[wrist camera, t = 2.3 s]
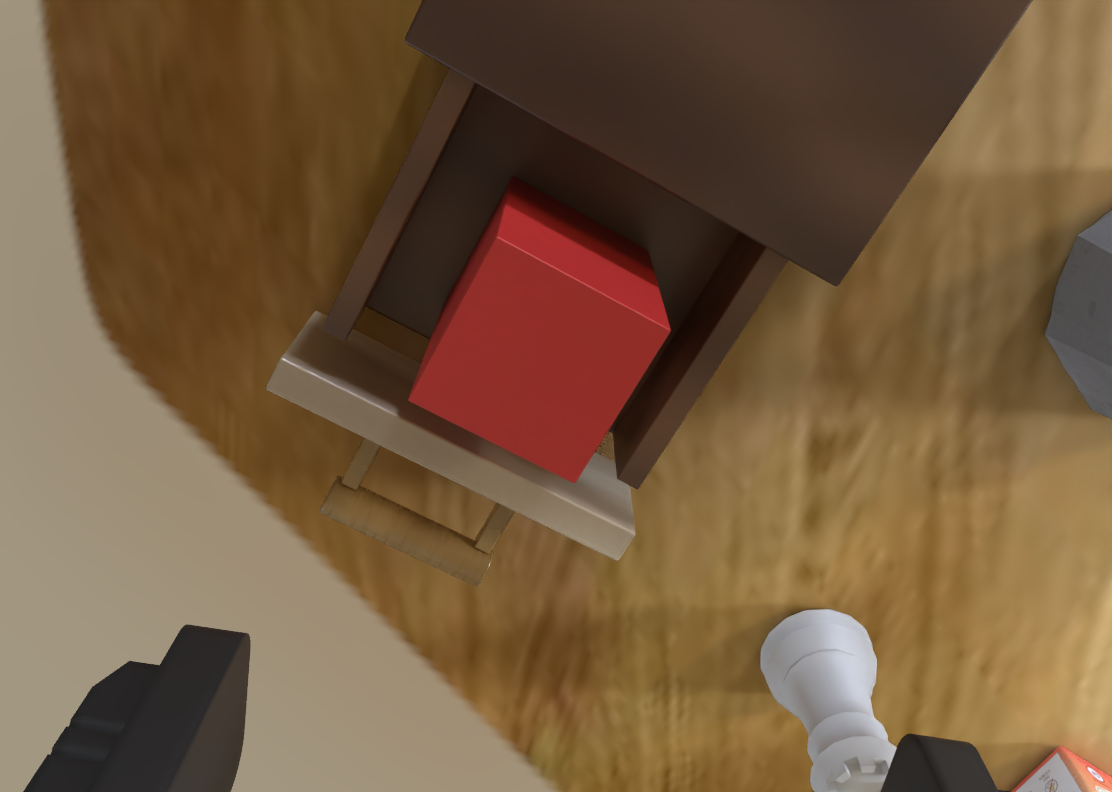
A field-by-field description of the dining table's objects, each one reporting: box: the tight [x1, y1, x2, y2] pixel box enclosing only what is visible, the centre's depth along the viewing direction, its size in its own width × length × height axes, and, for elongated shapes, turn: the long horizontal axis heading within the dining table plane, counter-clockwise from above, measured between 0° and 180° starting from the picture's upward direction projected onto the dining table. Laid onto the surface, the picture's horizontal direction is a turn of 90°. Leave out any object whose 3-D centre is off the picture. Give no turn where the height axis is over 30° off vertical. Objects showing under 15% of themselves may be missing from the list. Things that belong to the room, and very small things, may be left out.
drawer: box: [266, 69, 788, 586], centre depth 34 cm, size 18×12×5 cm
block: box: [408, 176, 671, 483], centre depth 31 cm, size 5×5×8 cm
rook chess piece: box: [760, 609, 897, 792], centre depth 38 cm, size 4×4×8 cm
